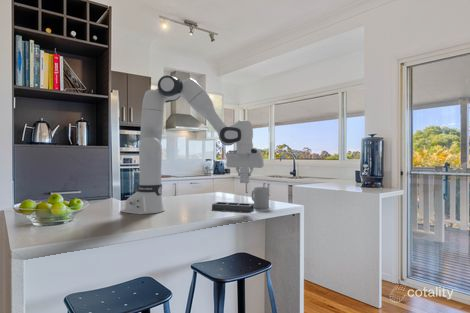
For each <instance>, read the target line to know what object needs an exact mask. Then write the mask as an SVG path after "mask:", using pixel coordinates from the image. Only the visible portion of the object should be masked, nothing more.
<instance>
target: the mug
mask: <svg viewBox="0 0 470 313" xmlns="http://www.w3.org/2000/svg"><path fill="white" fill-rule="evenodd" d="M251 200H252V201H253V204H254V209H261V210H263V209H265V210H266V209H269V208H270V188H269V187H262V186H259V187H258V186H257V187H254V188H253V190H252V191H251Z"/></svg>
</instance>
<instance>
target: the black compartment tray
mask: <svg viewBox="0 0 470 313" xmlns="http://www.w3.org/2000/svg"><path fill="white" fill-rule="evenodd" d="M254 209H255V208H254V203H245V202H230V201H229V202H228V201H216V202H214V203H212V204H211V210H212V211H227V212H240V211H242V212H243V213H250V212H252V211H253V210H254Z"/></svg>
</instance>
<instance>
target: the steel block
mask: <svg viewBox="0 0 470 313" xmlns="http://www.w3.org/2000/svg"><path fill="white" fill-rule="evenodd" d="M239 171H240V176H239V183H240V184H248V183H250V176H248V173H250V168H240V169H239Z"/></svg>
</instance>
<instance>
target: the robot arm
mask: <svg viewBox="0 0 470 313" xmlns="http://www.w3.org/2000/svg"><path fill="white" fill-rule="evenodd" d="M180 97H181V98H183V99H184V100H185V101H186V102H187V103H188V104H189V106H190V107H191V108H192V109H193V110H194V111H195V112H196V113H198V114H199V115H200V116H201V117H202V118H204V119H205V120H206V121H207V122H208V123H209V124H210V125H211V127H212V128H213V129H214V131H216V133H217V135H218V139H219V141H220V143H221V144H223V145H224V146H227V147H229V146H232V145H234V144H236V149H235V150H228V151H227V152H226V154H225V155H226V163H225V165H226V167H227V168H235V170H236V172H237V173H238V175H237V176H238V177H240V168H249V173H248V176H249V177H252V173H253V171H254V169H255V168H256V169H258V168H259V169H262V168H264V157H263V154H262V150H261V149H259V148H256V147H254V144H253V139H254V138H253V137H254V129H253V128H254V127H253V124H252V122H251V121H248V120H244V119H238V120H236V122H234V123H232V124H230V125H227V124H225V123H224V121H223V120H222V119H221V116H219V115H218V113H217V111H216V109H215V107H214V102H213V101H212V99H211V96H210V95H209V94H208V92H207V90H205V88H203V87H202V86H201V85H200V84H199V83H198V82H197V81H196V80H195V79H193V78H191V77H190V78H186V79H184V80H182V79H181V78H180V79H179V78H177V77H175V76H172V75H168V74H167V75H163V76H161V77H160V78H159V80H158V81H157V88H156V89H149V90H146V91H145V93H144V96H143V99H142V104H141V120H140V138H139V139H140V140H139V147H138V150H139V151H138V155H139V156H138V158H139V159H138V162H139V163H138V165H139V184H138V185H136V186H134V188H135V189H136V191H135V192H134V193H133V194H131V195H130V196H129V197H128V198H127V199H126V200H125V205H124V207H122V208H121V209H120V212H121V213H128V214H135V215H147V214H148V215H149V214H157V213H162V212H164V211H165V208H164V203H163V197H162V196H163V184H162V158H163V157H162V156H163V152H162V150H163V149H162V147H163V145H162V135H163V129H164V128H163V126H164V125H163V124H164V109H165V108H164V107H165V103H170V102H175V101H177V100H179V99H180Z"/></svg>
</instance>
